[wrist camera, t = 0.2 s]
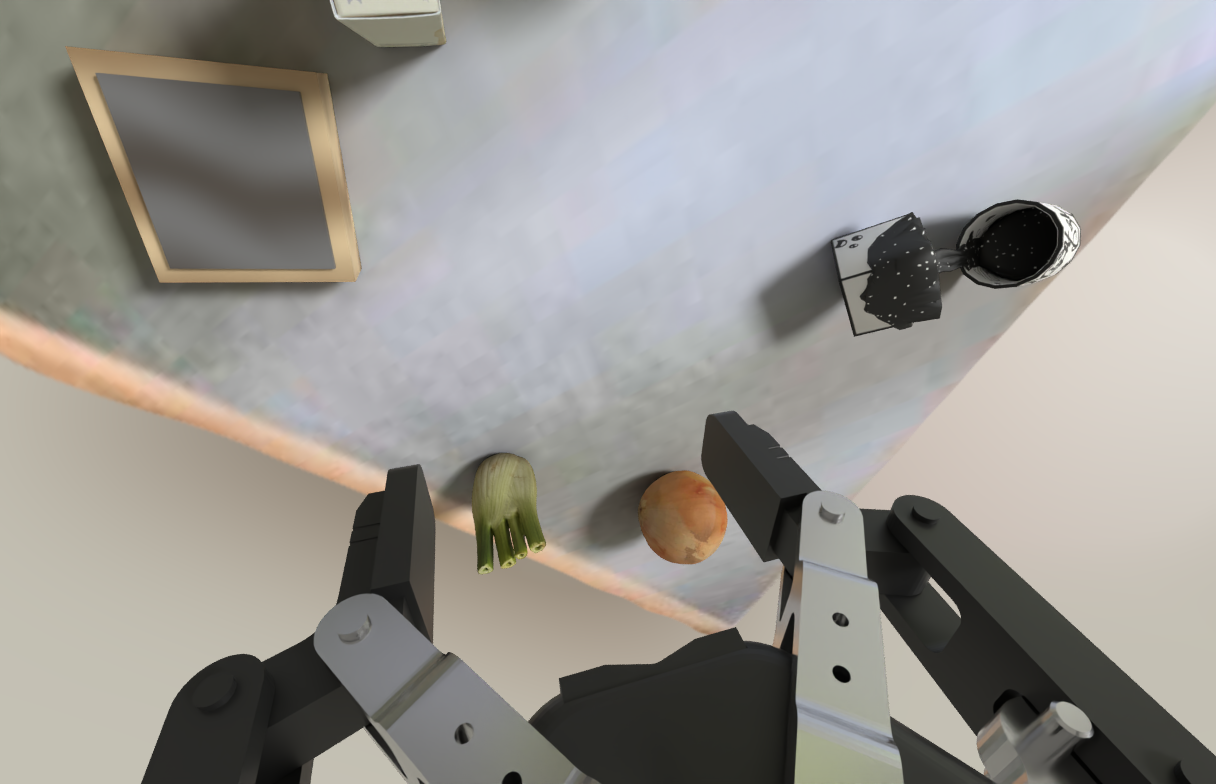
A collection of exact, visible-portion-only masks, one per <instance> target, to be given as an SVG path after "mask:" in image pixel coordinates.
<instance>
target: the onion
mask: <svg viewBox="0 0 1216 784" xmlns="http://www.w3.org/2000/svg"><path fill="white" fill-rule="evenodd" d="M638 518H639V522H640V526H641V530H642V533H643V535H644V537H645V539H646V541H647V543H648V545H649V546H650V548H651V549H652V550H653V551H654V552H655V553H656V554H657V555H658V556H660V557H661V558H663V559H665V560H667V561H669V562H673V563H678V564H696V563H699V562H701V561H703V560H705V559H707V558H708V557H709V556H710V555H712V554H713V553H714V552H715V551H716V550H717V548H718V547H719V545H720V544H721V542H722V540H723V537H724V535H725V531H726V527H727V512H726V507H725V503H724V502H723V500H722V499H721V497H720V496H719V494H718V493H717V491H716V490H715V488H714V487H713V485H712V484H711V482H710V481H709V480H707V479H706V478H704V477H702V476H701V475H699V474H696V473H694V472H691V471H685V470H684V471H674V472H671V473H668V474H666V475H664V476H662V477H660V478H659V479H657V480H656V481H655V482H653V483H652V484H651V485H650V486H649V487H648V488H647V489H646V491H645V492H644V494H643V496H642V498H641V500H640V503H639V507H638Z"/></svg>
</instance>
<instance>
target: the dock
mask: <svg viewBox="0 0 1216 784" xmlns="http://www.w3.org/2000/svg"><path fill="white" fill-rule="evenodd" d="M65 47H66V49H67V52H68V54H69V57H70V59H71V62H72V64H73V67H74V69H75V72H76V74H77V77H78V79H79V82H80V85H81V87H82V90H83V92H84V95H85V97H86V100H87V102H88V105H89V107H90V110H91V112H92V115H93V117H94V120H95V122H96V125H97V127H98V130H99V132H100V135H101V137H102V140H103V142H104V145H105V147H106V150H107V152H108V155H109V157H110V160H111V162H112V165H113V167H114V170H115V172H116V175H117V177H118V180H119V182H120V185H121V187H122V190H123V192H124V195H125V197H126V200H127V202H128V205H129V207H130V210H131V212H132V215H133V217H134V220H135V222H136V225H137V227H138V230H139V232H140V235H141V237H142V240H143V242H144V245H145V247H146V250H147V252H148V255H149V257H150V260H151V262H152V265H153V267H154V270H155V272H156V275H157V277H158V280H159V282H160V283H180V282H355V281H356V279H357V277H358V275H359V273H360V271H361V269H362V268H361V262H360V257H359V251H358V245H357V240H356V234H355V228H354V223H353V217H352V211H351V206H350V200H349V194H348V189H347V183H346V177H345V172H344V166H343V160H342V155H341V149H340V143H339V138H338V132H337V126H336V121H335V115H334V109H333V104H332V98H331V92H330V87H329V81H328V75H327V74H324V73H317V72H307V71H297V70H288V69H278V68H269V67H259V66H249V65H240V64H230V63H220V62H211V61H201V60H192V59H182V58H172V57H163V56H153V55H144V54H134V53H124V52H115V51H105V50H95V49H86V48H76V47H67V46H65Z"/></svg>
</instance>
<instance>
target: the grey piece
mask: <svg viewBox="0 0 1216 784" xmlns="http://www.w3.org/2000/svg"><path fill="white" fill-rule="evenodd" d="M1080 238H1081V228H1080V226H1079V225H1078V223H1077V221H1076V219H1075V218H1074V216H1073V214H1071V213H1069V212H1068V211H1066V210H1064V209H1063V208H1061V207H1059V206H1057V205H1051V204H1046V203H1040V202H1033V201H1025V200H1018V199H1017V200H1012V201H1007V202H1002V203H997V204H995V205H993V206H991V207H989V208H987V209H985V210H984V211H982V212H980V213H978V214H977V215H976V216H975V217H974V218H973V219H972V220H971V221H970V222H969V223H968V224H967V225H966V226H965V227H964V228H963V230H962V233H961V235H960V237H959V239H958V242H957V244H956V250H950V249H943V248H941V249H938V250H936V251H934V250H933V247H932V243H931V241H929V240H927V236H926V231H925V228H923V226H922V223H921V220H920V217H919V218H916V217H915V215H914V213H913V212H911V213H909V214H907V215H904V216H901V217H898V218H895V219H892V220H889V221H886V222H883V223H880V224H877V225H874V226H871V227H868V228H865V229H862V230H859V231H856V232H854V233H851V234H848V235H845V236H842V237H839V238H836V239H833V240H831V244H832V249H833V254H834V259H835V264H836V269H837V274H838V280H839V284H840V287H841V291H842V295H843V298H844V302H845V305H846V309H847V313H848V316H849V320H850V324H851V327H852V331H853V335H854V337H855V336H859V335H863V334H867V333H871V332H875V331H880V330H884V329H888V328H892V327H894V328H897V329H899V330H901V329H906V328H909V327H912V325H913V323H914V322H920V321H926V320H932V319H938V318H940V314H941V309H942V302H941V293H940V282H939V275H938V273H941V272H949V271H953V270H955V269H958V268H960V269H961V271H962V273H963V275H965V276H966V277H968V278H969V279H970V280H972V281H973V282H974V283H976V284H978V285H982V286H986V287H990V288H994V289H998V288H1008V287H1017V286H1022V285H1026V284H1031V283H1035V282H1038V281H1041V280H1043V279H1046V278H1048V277H1051V276H1053V275H1055V274H1057V273H1058V272H1059V271H1060V270H1062V269H1063V268H1064V267H1065V266H1066V265H1068V264H1069V263H1070V262H1071V261H1072V259H1073V257H1074V256H1075V254H1076V252H1077V250H1078V248H1079V247H1080Z"/></svg>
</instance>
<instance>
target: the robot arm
mask: <svg viewBox="0 0 1216 784" xmlns="http://www.w3.org/2000/svg"><path fill="white" fill-rule="evenodd" d="M701 460H702V466H703V469H704V472H705V474H706V476H707V478H708V479H709V481H710V482H711V484H712V485H713V487H714V488H715V490H716V491H717V493H718V494H719V496H720V497H721V499H722V500H723V502H724V503H725V505H726V506H727V508H728V509H729V511H730V512H731V514H732V515H733V517H734V518H735V520H736V521H737V523H738V524H739V526H740V527H741V529H742V530H743V532H744V533H745V535H746V536H747V538H748V539H749V541H750V542H751V544H752V545H753V547H754V548H755V550H756V552H757V553H758V555H759V556H760V558H761V559H762V561H763V562H767V561H771V560H775V559H780V561H781V562H782V563H783V568H782V572H781V581H780V592H779V601H778V611H777V620H776V630H775V636H774V642H773V646H771V645H767V644H763V643H759V642H752V641H743V640H742V638H741V636H740V634H739V632H738V630H737V629H736V627H735V628H731V629H728V630H724V631H721V632H718V633H714V634H711V635H707V636H704V637H700V638H697V639H694V640H693V641H691V642H690V643H688V644H687V645H685V646H683V647H682V648H680V649H679V650H677V651H676V652H674V653H673V654H671V655H669V656H668V657H666V658H665V659H663V660H662V661H660V662H658V663H655V664H636V665H635V664H633V665H603V666H600V667H596V668H593V669H590V670H586V671H583V672H579V673H576V674H572V675H569V676H565V677H562V678H559V684H560V694H559V695H557V696H556V697H554V698H552V699H551V700H550V701H548V702H547V703H546V704H545V705H543V706H542V707H541V708H540V709H539V710H538V711H537V712H536V713H535V714H534V715H533V716H532V717H531V719H530V720H529V721H528V722H527V721H526V720H525V719H524V718H523V717H522V716H521V715H520V714H519V713H518V712H517V711H516V710H515V709H514V708H512V707H511V706H510V705H509V704H508V703H507V702H506V701H505V700H504V699H503V698H502V697H501V696H500V695H499V694H498V693H496V692H495V691H494V690H493V689H492V688H491V687H490V686H489V685H488V684H487V683H486V682H485V681H484V680H483V679H482V678H481V677H479V676H478V675H477V674H476V673H475V672H474V671H473V670H472V669H471V668H470V667H469V666H468V665H467V664H466V663H465V662H463V661H462V660H461V659H460V658H459V657H458V656H456V655H455V654H453V653H450V652H448V653H447V654H446V655H445V654H443V653H442V652H440V651H439V650H438V649H437V648H436V647H435V646H434V645H433V614H434V569H435V518H434V511H433V506H432V503H431V499H430V495H429V492H428V488H427V485H426V481H425V477H424V474H423V470H422V467H421V465H420V464H417V465H411V466H406V467H400V468H394V469H389V470H388V474H387V480H386V487H385V491H381V492H375V493H370V494H368V495H367V497H366V498H365V499H364V501H363V502H362V503H361V505H360V506H359V508H358V509H357V510H356V515H355V519H354V524H353V531H352V534H351V539H350V546H349V548H348V553H347V558H346V563H345V567H344V572H343V577H342V582H341V586H340V592H339V596H338V600H337V604H336V606H334V607H333V608H332V609H331V610H330V611H329V612H328V613H327V614H326V615H325V616H324V618H323V619H322V620H321V621H320V623H319V625H318V627H317V629H316V631H315V633H313V634H312V635H311V636H309V637H308V638H306V639H305V640H303V641H302V642H300V643H298V644H296V645H294V646H292V647H290V648H289V649H286V650H284V651H283V652H281V653H279V654H277V655H275V656H273V657H271V658H269V659H267V660H265V661H263V662H261V661H260V660H259V659H258V658H256V657H255V656H252V655H247V654H237V655H232V656H228V657H225V658H223V659H220V660H218V661H216V662H214V663H212V664H211V665H209V666H207V667H205V668H204V669H203V670H201V671H200V672H198V673H197V674H196V675H195V676H194V677H193V678H191V679H190V680H189V681H188V682H187V684H185V685H184V686H183V688H182V689H181V690H180V692H179V693H178V694H177V696H176V697H175V699H174V700H173V702H172V705H171V707H170V709H169V711H168V714H167V717H166V719H165V722H164V725H163V727H162V730H161V733H160V735H159V738H158V740H157V743H156V746H155V748H154V751H153V754H152V757H151V759H150V762H149V764H148V767H147V769H146V772H145V775H144V778H143V780H142V783H141V784H310V782H311V773H312V767H313V760H314V758H315V757H317V756H318V755H320V754H321V753H323V752H325V751H326V750H328V749H329V748H331V747H332V746H334V745H335V744H337V743H339V742H341V741H342V740H344V739H345V738H347V737H348V736H350V735H352V734H354V733H355V732H356V731H358V730H360V729H361V728H364V730H365V731H366V732H367V733H368V735H369V736H370V737H371V738H372V739H373V741H374V742H375V743H376V745H377V746H378V747H379V748H380V750H381V751H382V752H383V753H384V755H385V756H386V757H387V758H388V759H389V761H390V762H391V763H392V764H393V766H394V767H395V768H396V770H397V771H398V772H399V773H400V775H401V776H402V777H403V778H404V780H405V781H406V782H407V783H408V784H1216V756H1215V755H1214V754H1213V753H1212V752H1211V751H1209V750H1208V749H1207V748H1206V747H1205V746H1204V745H1203V744H1202V743H1201V742H1200V741H1199V740H1197V739H1196V738H1195V737H1194V736H1193V735H1192V734H1191V733H1190V732H1189V731H1188V730H1187V729H1185V728H1184V727H1183V726H1182V725H1181V724H1180V723H1179V722H1178V721H1177V720H1176V719H1175V718H1173V717H1172V716H1171V715H1170V714H1169V713H1168V712H1167V711H1166V710H1165V709H1164V708H1163V707H1162V706H1160V705H1159V704H1158V703H1157V702H1156V701H1155V700H1154V699H1153V698H1152V697H1151V696H1150V695H1148V694H1147V693H1146V692H1145V691H1144V690H1143V689H1142V688H1141V687H1140V686H1139V685H1138V684H1137V683H1135V682H1134V681H1133V680H1132V679H1131V678H1130V677H1129V676H1128V675H1127V674H1126V673H1124V672H1123V671H1122V670H1121V669H1120V668H1119V667H1118V666H1117V665H1116V664H1115V663H1114V662H1113V661H1111V660H1110V659H1109V658H1108V657H1107V656H1106V655H1105V654H1104V653H1102V651H1101V650H1100V649H1098V648H1097V647H1096V646H1095V645H1094V644H1093V643H1092V642H1091V641H1090V640H1089V639H1088V638H1086V637H1085V636H1084V635H1083V634H1082V633H1081V632H1080V631H1079V630H1078V629H1077V628H1076V627H1075V626H1073V625H1072V624H1071V623H1070V622H1069V621H1068V620H1067V619H1066V618H1065V617H1064V616H1063V615H1061V614H1060V613H1059V612H1058V611H1057V610H1056V609H1055V608H1054V607H1053V606H1052V605H1051V604H1049V603H1048V602H1047V601H1046V600H1045V599H1044V598H1043V597H1042V596H1041V595H1040V594H1039V593H1038V592H1036V591H1035V590H1034V589H1033V588H1032V587H1031V586H1030V585H1029V584H1028V583H1027V582H1025V581H1024V580H1023V579H1022V578H1021V577H1020V576H1019V575H1018V574H1017V573H1016V572H1015V571H1014V570H1012V569H1011V568H1010V567H1009V566H1008V565H1007V564H1006V563H1005V562H1004V561H1003V560H1002V559H1000V558H999V557H998V556H997V555H996V554H995V553H994V552H993V551H992V550H991V549H990V548H989V547H987V546H986V545H985V544H984V543H983V542H982V541H981V540H980V539H978V537H977V536H975V535H974V534H973V533H972V532H971V531H970V530H969V529H968V528H967V527H966V526H965V525H963V524H962V523H961V522H960V521H959V520H958V519H957V518H956V517H955V516H954V515H953V514H952V513H950V512H949V511H948V510H947V509H946V508H945V507H943V506H941V505H940V504H938V503H936V502H934V501H932V500H930V499H927V498H924V497H920V496H915V495H905V496H901V497H899V498H897V499H896V500H895V501H894V503H893V505H892V508H891V510H875V509H859V508H858V507H857V506H856V505H855V504H854V503H853V502H852V501H851V500H849V499H848V498H846V497H844V496H842V495H840V494H837V493H834V492H830V491H822V490H821V489H820V488H819V487H818V486H817V485H816V484H815V483H814V482H813V481H812V480H811V478H810V477H809V476H808V475H807V474H806V473H805V472H804V471H803V470H802V469H801V468H800V467H799V465H798V464H797V463H796V462H795V461H794V460H793V459H792V458H791V457H789V456H788V454H787V452H786V451H785V450H784V449H783V448H780V445H779V444H778V443H777V442H776V441H775V439H774V438H773V437H772V436H771V435H770V434H769V433H767V432H766V431H764V430H762V429H760V428H759V427H757V426H755V425H754V424H752V425H747V423H746V422H745V421H744V420H743V419H742V418H741V417H740V416H739V414H738V413H737V412H735V411H728V412H722V413H716V414H710V415H709V416H708V417H707V419H706V425H705V432H704V439H703V447H702V454H701ZM930 577H932V578H933V579H934V580H935V581H936V582H937V584H938V585H939V586H940V587H941V588H942V589H943V590H944V591H945V592H946V593H947V595H948V596H949V597H950V598H951V599H952V600H953V601H954V602H955V604H956V605H957V607H958V609H959V611H960V615H961V618H960V617H959V616H958V615H957V614H956V613H955V611H954V610H953V609H952V608H951V607H950V606H949V605H948V604H947V603H946V601H945V600H944V599H943V598H942V597H941V596H940V595H939V593H938V592H937V591H936V590H935V589H934V588H933V587H932V586H931V585H930V583H929V582H928V581H929V579H930ZM880 609H881V610H882V612H883V613H884V614H885V616H886V617H887V618H888V620H889V621H890V622H891V624H892V625H893V626H894V628H895V629H896V630H897V632H898V633H899V634H900V636H901V637H902V638H903V640H904V641H905V642H906V644H907V645H908V646H909V647H910V649H911V650H912V651H913V653H914V654H915V655H916V656H917V658H918V659H919V661H920V662H921V663H922V665H923V666H924V667H925V669H926V670H927V671H928V673H929V674H930V675H931V677H932V678H933V679H934V680H935V682H936V683H937V685H938V686H939V687H940V688H941V690H942V691H943V692H944V694H945V695H946V696H947V698H948V699H949V700H950V702H951V703H952V704H953V706H954V707H955V708H956V710H957V711H958V712H959V714H960V715H961V716H962V718H963V719H964V720H965V722H966V723H967V724H968V726H969V727H970V728H971V730H972V731H973V732H974V734H975V735H976V736H977V749H978V753H979V756H980V758H981V760H982V762H983V764H984V766H985V769H984V775H983V774H981V773H979V772H978V771H976V770H975V769H973V768H972V767H970V766H968V765H967V764H965V763H964V762H962V761H961V760H959V759H957V758H956V757H954V756H953V755H951V754H949V753H948V752H946V751H945V750H943V749H941V748H940V747H938V746H937V745H935V744H934V743H932V742H930V741H929V740H927V739H926V738H924V737H922V736H920V735H919V734H918V733H916V732H914V731H913V730H911V729H910V728H908V727H906V726H905V725H903V724H902V723H900V722H898V721H897V720H895V719H894V718H892V717H891V716H890V714H889V713H890V712H889V702H888V691H887V680H886V669H885V658H884V647H883V636H882V626H881V614H880Z"/></svg>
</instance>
